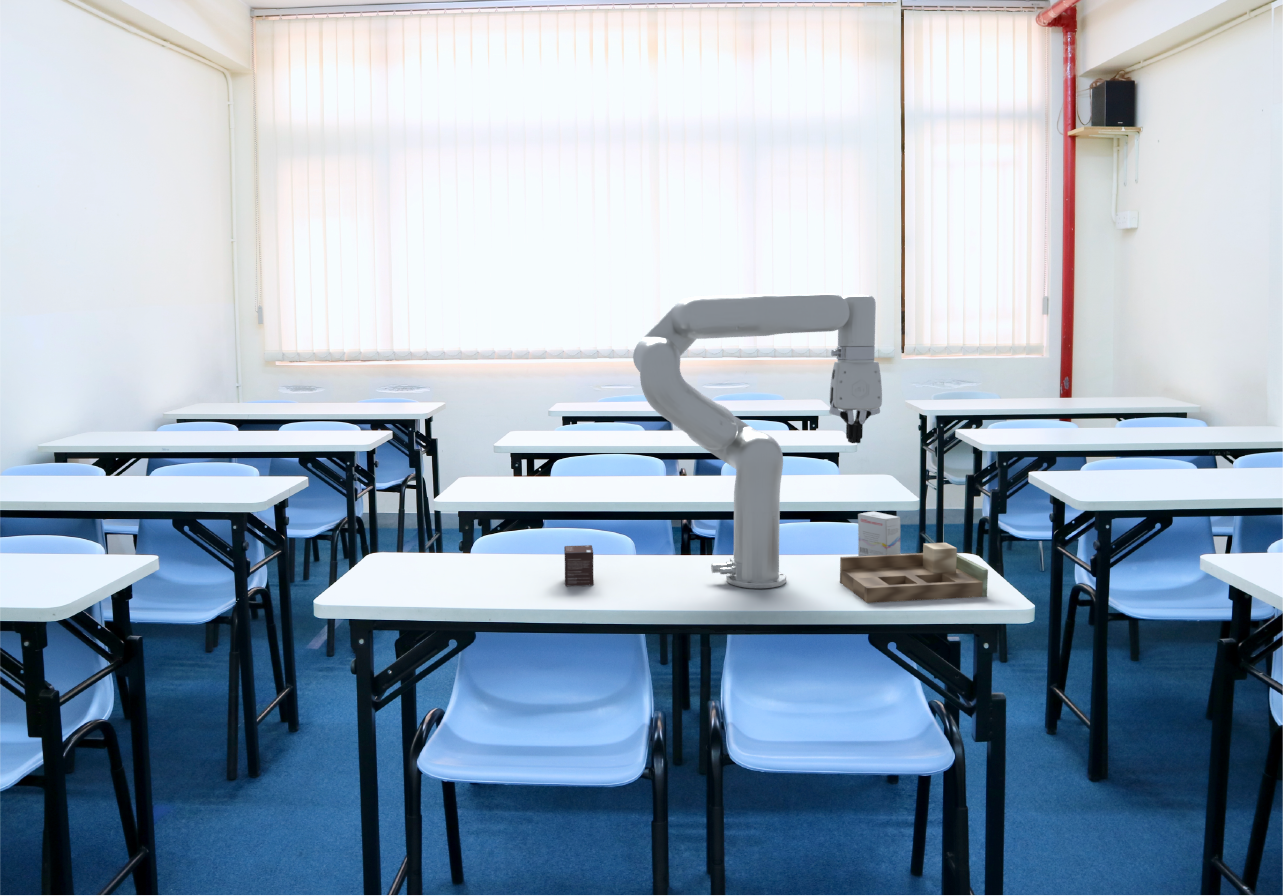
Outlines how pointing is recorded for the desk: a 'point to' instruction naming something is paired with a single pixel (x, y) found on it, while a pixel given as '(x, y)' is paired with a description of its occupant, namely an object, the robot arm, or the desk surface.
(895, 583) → the tray
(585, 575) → the box
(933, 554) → the beech block
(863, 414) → the robot arm
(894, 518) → the ink box
